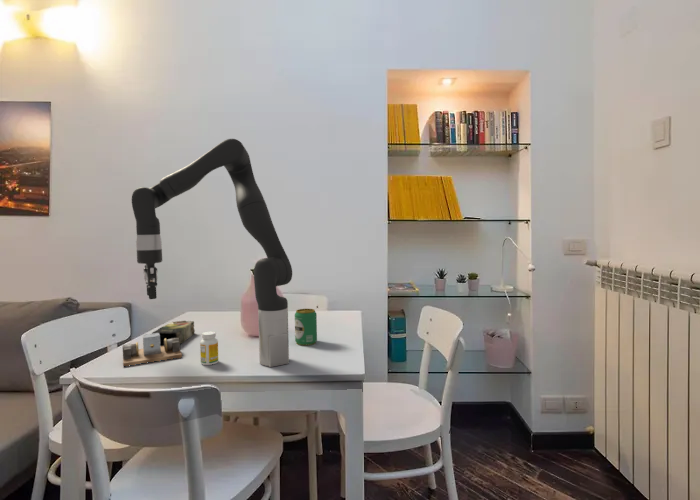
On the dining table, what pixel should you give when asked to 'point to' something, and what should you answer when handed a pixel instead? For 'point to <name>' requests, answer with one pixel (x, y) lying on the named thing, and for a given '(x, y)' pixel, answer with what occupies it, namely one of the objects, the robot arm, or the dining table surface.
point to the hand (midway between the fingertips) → (151, 297)
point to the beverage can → (305, 327)
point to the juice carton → (177, 330)
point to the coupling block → (151, 344)
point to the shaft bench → (137, 356)
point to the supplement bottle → (209, 348)
